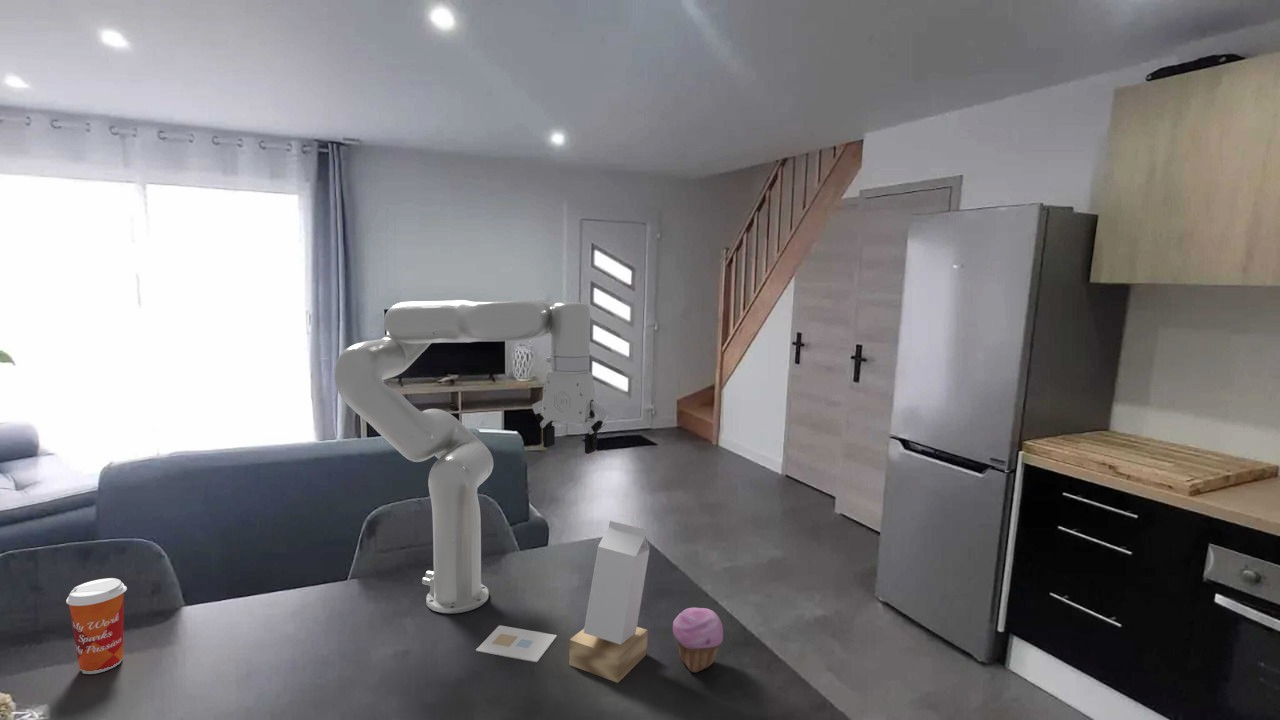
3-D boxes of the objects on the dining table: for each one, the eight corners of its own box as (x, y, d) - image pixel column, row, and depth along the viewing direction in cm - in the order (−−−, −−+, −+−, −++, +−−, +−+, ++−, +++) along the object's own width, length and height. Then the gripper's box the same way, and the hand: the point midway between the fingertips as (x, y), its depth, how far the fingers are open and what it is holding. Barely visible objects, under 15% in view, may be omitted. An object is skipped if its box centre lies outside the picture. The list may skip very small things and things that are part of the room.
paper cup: (65, 684, 104) (58, 601, 103) (79, 659, 111) (73, 581, 110) (125, 671, 108) (120, 591, 106) (136, 648, 115) (131, 573, 113)
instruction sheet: (475, 650, 116) (475, 649, 116) (499, 626, 125) (499, 625, 125) (537, 662, 113) (536, 661, 113) (556, 636, 122) (556, 635, 122)
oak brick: (569, 666, 113) (569, 639, 112) (600, 640, 122) (600, 615, 121) (617, 684, 108) (618, 656, 107) (646, 656, 117) (647, 629, 116)
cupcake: (663, 656, 116) (665, 603, 115) (705, 646, 119) (707, 595, 118) (687, 684, 108) (689, 628, 107) (731, 673, 111) (733, 618, 110)
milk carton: (620, 646, 108) (639, 532, 109) (583, 633, 111) (601, 523, 112) (635, 634, 115) (653, 527, 116) (599, 623, 117) (617, 518, 118)
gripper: (522, 363, 128) (522, 447, 130) (599, 369, 121) (597, 459, 122) (544, 360, 135) (543, 440, 136) (617, 365, 127) (616, 450, 129)
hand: (569, 449), depth 129 cm, fingers open, 9 cm apart
